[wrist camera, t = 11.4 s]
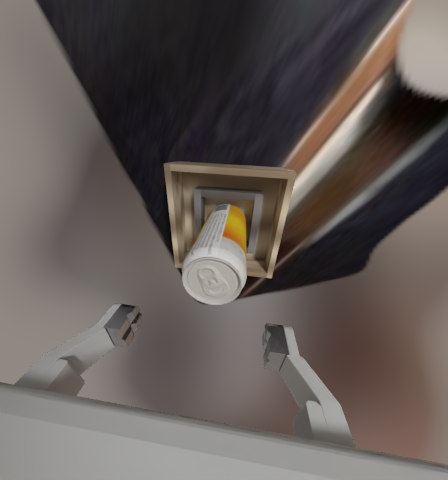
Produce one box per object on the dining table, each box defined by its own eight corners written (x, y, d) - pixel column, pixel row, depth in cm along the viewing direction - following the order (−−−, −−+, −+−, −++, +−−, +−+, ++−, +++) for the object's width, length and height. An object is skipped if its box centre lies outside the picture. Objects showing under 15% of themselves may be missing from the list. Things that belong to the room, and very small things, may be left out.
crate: (177, 161, 25) (163, 163, 21) (287, 168, 24) (296, 172, 20) (184, 251, 33) (175, 267, 28) (267, 260, 32) (271, 278, 27)
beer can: (218, 241, 30) (196, 312, 17) (203, 210, 27) (164, 265, 14) (251, 230, 28) (255, 301, 15) (238, 196, 26) (230, 245, 13)
